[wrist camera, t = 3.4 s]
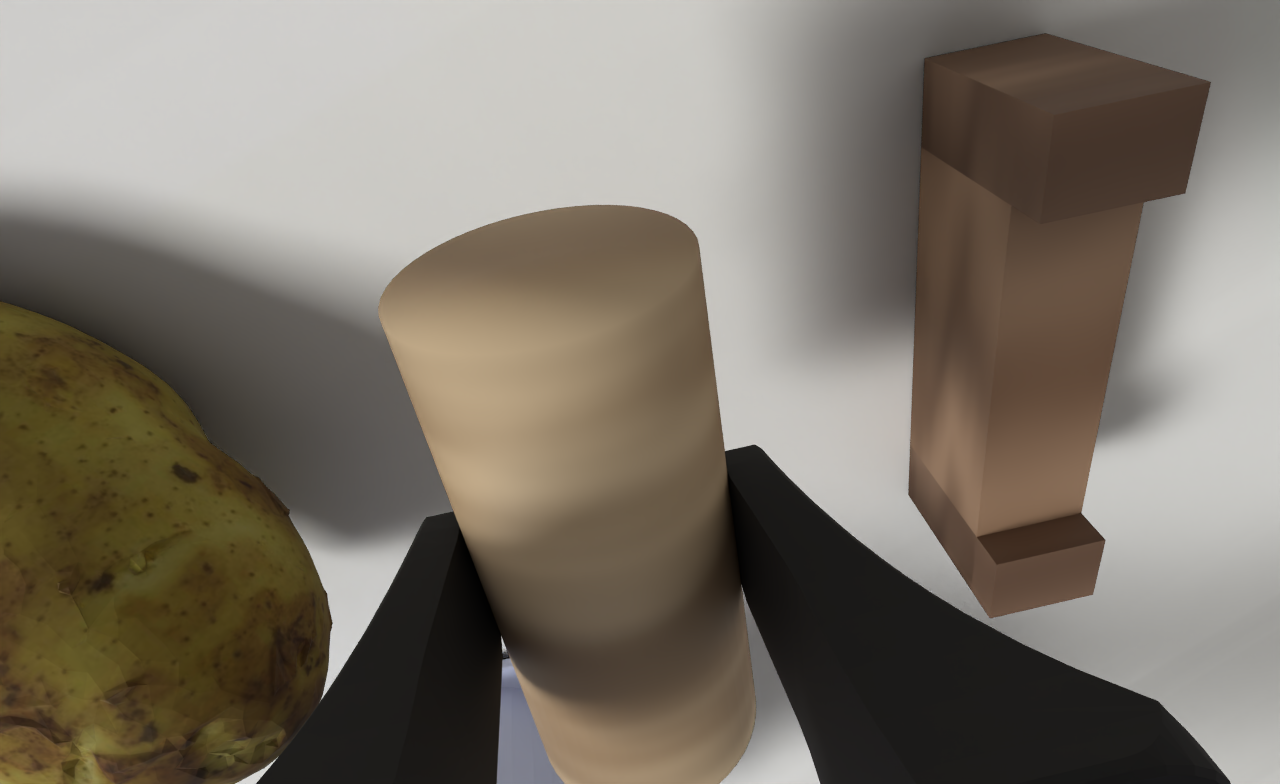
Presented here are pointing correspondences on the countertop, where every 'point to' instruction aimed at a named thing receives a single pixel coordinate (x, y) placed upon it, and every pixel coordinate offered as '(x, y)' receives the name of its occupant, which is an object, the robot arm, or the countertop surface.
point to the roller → (589, 480)
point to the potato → (139, 580)
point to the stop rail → (1029, 294)
